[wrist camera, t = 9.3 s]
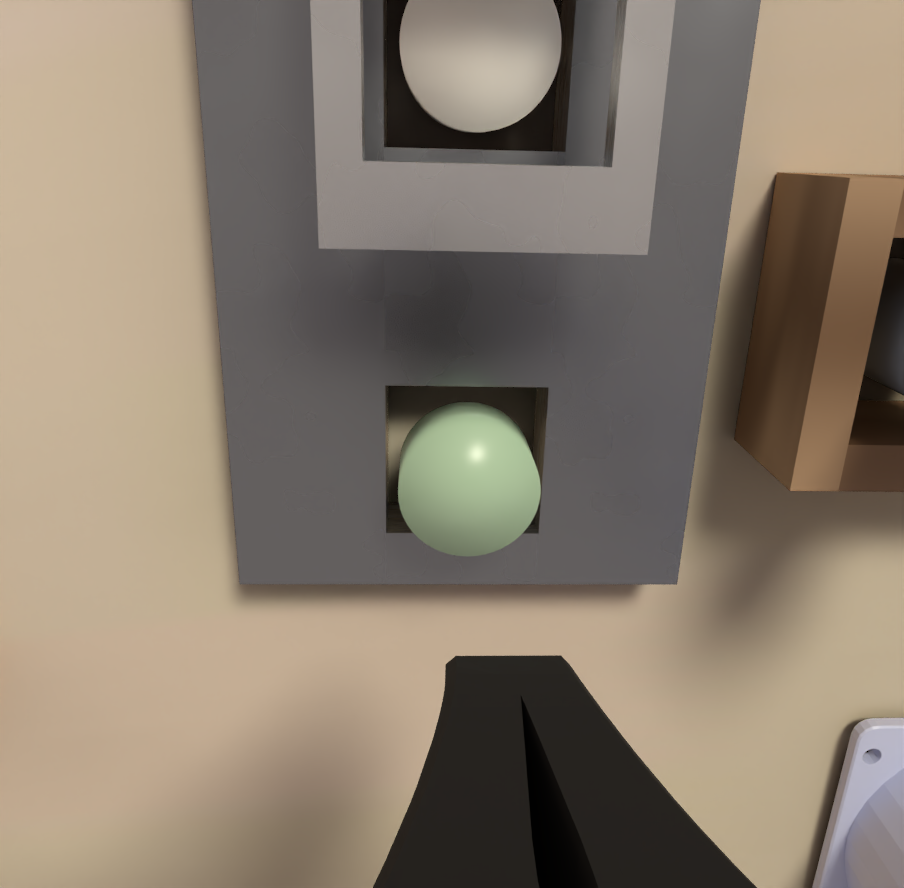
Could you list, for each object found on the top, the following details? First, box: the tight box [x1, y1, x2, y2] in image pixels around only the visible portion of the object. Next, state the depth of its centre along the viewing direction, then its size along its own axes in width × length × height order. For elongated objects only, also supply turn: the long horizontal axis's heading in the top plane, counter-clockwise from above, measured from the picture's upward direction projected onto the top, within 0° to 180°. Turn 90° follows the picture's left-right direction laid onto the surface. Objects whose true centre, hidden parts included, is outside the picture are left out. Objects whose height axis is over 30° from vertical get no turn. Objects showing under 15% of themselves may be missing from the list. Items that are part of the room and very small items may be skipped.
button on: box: [398, 402, 541, 556], centre depth 16 cm, size 3×3×2 cm
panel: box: [192, 0, 761, 584], centre depth 15 cm, size 14×10×5 cm
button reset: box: [399, 0, 561, 133], centre depth 14 cm, size 3×3×2 cm
